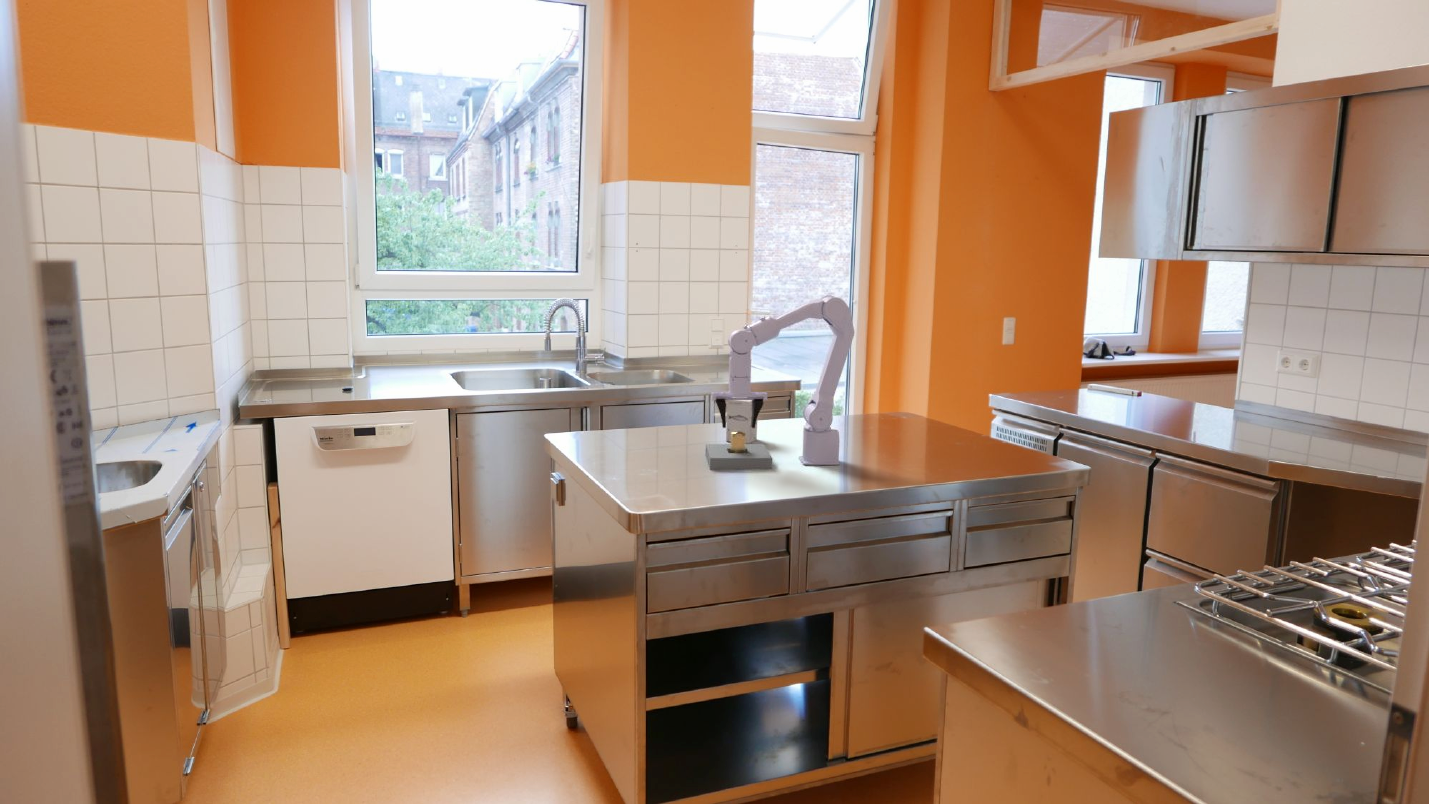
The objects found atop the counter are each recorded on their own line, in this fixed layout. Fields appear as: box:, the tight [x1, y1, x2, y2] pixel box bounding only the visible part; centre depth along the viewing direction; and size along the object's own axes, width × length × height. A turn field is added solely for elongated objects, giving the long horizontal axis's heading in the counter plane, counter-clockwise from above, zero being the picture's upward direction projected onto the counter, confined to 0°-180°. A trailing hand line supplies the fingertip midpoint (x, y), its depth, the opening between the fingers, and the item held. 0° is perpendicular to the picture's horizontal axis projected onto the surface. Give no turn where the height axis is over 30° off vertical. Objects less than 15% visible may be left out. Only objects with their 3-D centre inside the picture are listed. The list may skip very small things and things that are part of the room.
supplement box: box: [725, 397, 758, 444], centre depth 265 cm, size 7×7×13 cm
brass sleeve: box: [730, 431, 747, 453], centre depth 240 cm, size 4×4×8 cm
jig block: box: [704, 443, 773, 471], centre depth 240 cm, size 16×16×3 cm
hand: (738, 427), depth 239 cm, fingers open, 7 cm apart
